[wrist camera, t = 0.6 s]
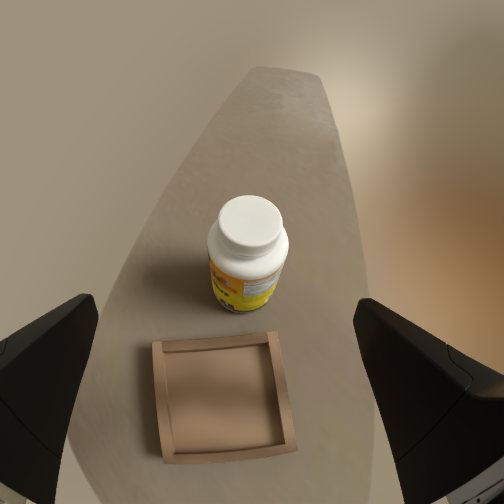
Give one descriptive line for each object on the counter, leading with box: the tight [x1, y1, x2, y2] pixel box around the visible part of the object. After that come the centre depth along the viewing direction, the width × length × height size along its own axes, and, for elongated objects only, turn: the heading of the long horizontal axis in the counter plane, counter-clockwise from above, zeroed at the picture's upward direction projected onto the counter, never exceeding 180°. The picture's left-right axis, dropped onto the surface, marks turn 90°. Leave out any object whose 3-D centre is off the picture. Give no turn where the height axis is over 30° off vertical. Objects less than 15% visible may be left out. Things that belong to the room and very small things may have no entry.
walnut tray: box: [152, 331, 297, 464], centre depth 19 cm, size 10×10×2 cm
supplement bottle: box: [207, 195, 288, 313], centre depth 21 cm, size 6×6×10 cm
